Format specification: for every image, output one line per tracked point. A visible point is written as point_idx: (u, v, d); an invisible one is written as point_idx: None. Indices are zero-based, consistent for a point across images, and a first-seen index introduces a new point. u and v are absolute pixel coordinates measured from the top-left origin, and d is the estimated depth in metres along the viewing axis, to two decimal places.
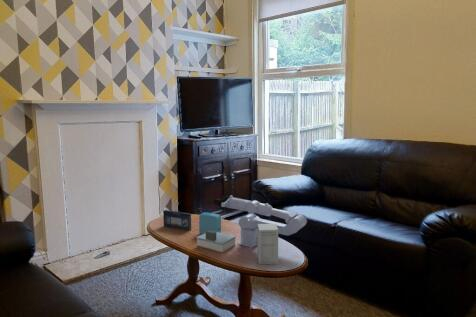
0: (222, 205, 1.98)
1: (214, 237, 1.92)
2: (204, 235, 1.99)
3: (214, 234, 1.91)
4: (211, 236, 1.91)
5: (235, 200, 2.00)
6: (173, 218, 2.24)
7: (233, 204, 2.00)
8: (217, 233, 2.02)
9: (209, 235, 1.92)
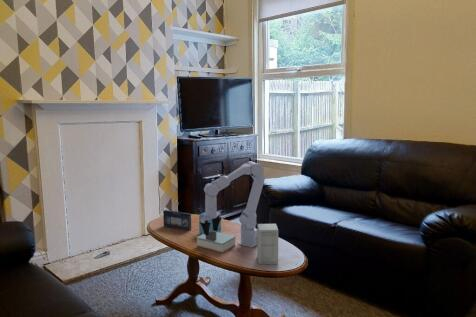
0: (202, 221, 1.86)
1: (214, 237, 1.92)
2: (204, 235, 1.99)
3: (214, 234, 1.91)
4: (211, 236, 1.91)
5: (205, 209, 1.91)
6: (173, 218, 2.24)
7: (207, 211, 1.89)
8: (217, 233, 2.02)
9: (209, 235, 1.92)
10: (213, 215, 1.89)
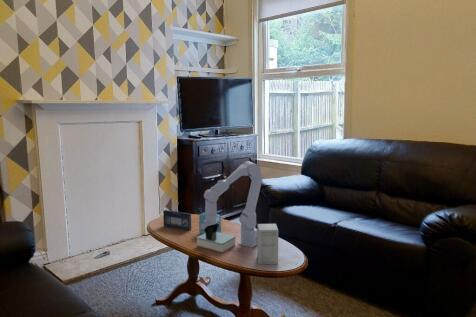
0: (202, 227, 1.86)
1: (214, 237, 1.92)
2: (204, 235, 1.99)
3: (214, 234, 1.91)
4: None
5: (205, 215, 1.91)
6: (173, 218, 2.24)
7: (207, 217, 1.89)
8: (217, 233, 2.02)
9: None
10: (213, 221, 1.90)
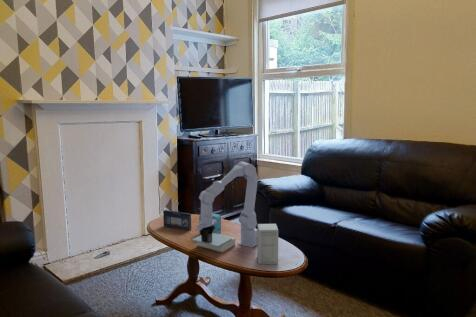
0: (198, 229, 1.83)
1: (210, 239, 1.89)
2: (200, 237, 1.96)
3: (210, 236, 1.88)
4: (207, 238, 1.88)
5: (201, 216, 1.88)
6: (173, 218, 2.24)
7: (203, 219, 1.86)
8: (213, 235, 1.99)
9: None
10: (209, 223, 1.87)
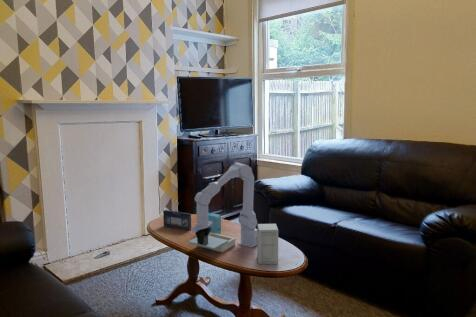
0: (193, 231, 1.80)
1: (206, 241, 1.86)
2: (196, 239, 1.93)
3: (206, 238, 1.86)
4: (203, 240, 1.86)
5: None
6: (173, 218, 2.24)
7: (198, 220, 1.84)
8: (209, 237, 1.96)
9: None
10: (205, 225, 1.84)
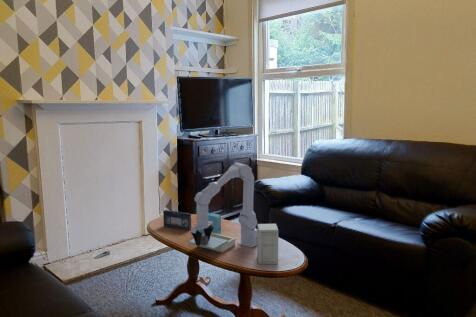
0: (193, 231, 1.80)
1: (206, 241, 1.86)
2: None
3: (206, 238, 1.86)
4: (203, 240, 1.86)
5: None
6: (173, 218, 2.24)
7: (198, 220, 1.84)
8: None
9: (201, 239, 1.86)
10: (205, 225, 1.84)
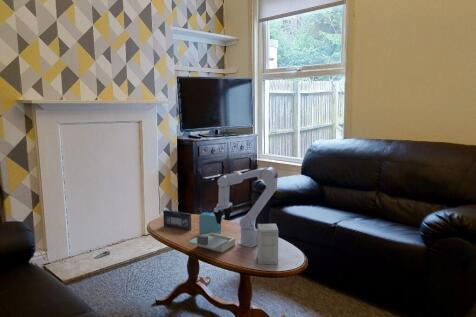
0: (216, 210, 1.97)
1: (206, 241, 1.86)
2: (196, 239, 1.93)
3: (206, 238, 1.86)
4: (203, 240, 1.86)
5: (218, 199, 2.02)
6: (173, 218, 2.24)
7: (220, 201, 2.01)
8: (209, 237, 1.96)
9: (201, 239, 1.86)
10: (226, 205, 2.01)
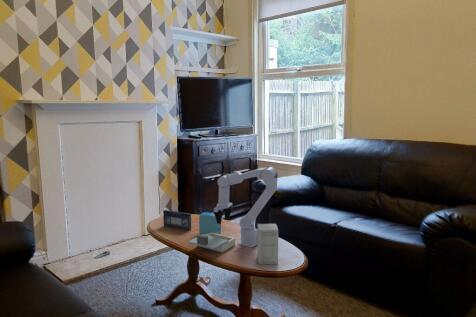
0: (216, 210, 1.97)
1: (206, 241, 1.86)
2: (196, 239, 1.93)
3: (206, 238, 1.86)
4: (203, 240, 1.86)
5: (218, 199, 2.02)
6: (173, 218, 2.24)
7: (220, 201, 2.01)
8: (209, 237, 1.96)
9: (201, 239, 1.86)
10: (226, 205, 2.01)
